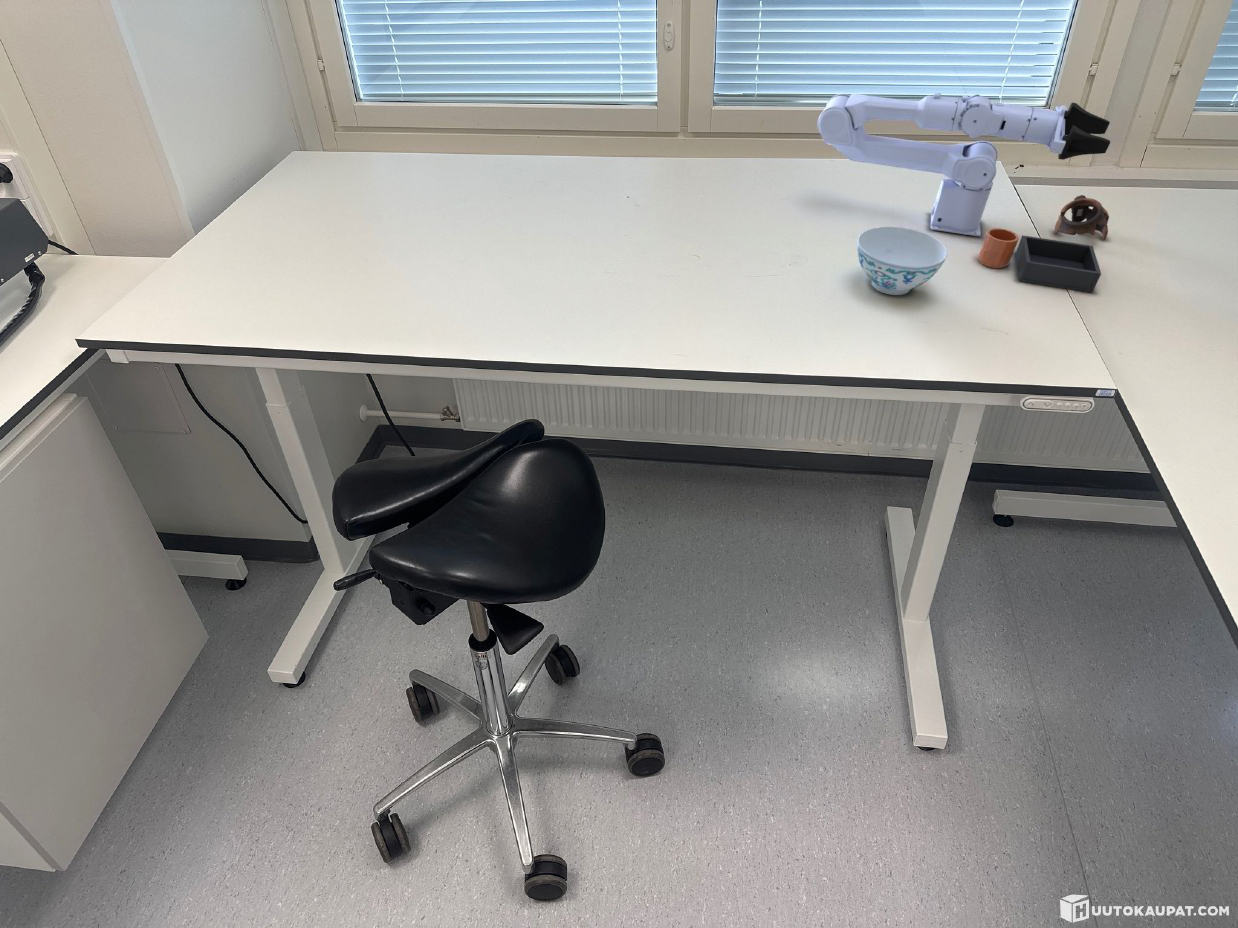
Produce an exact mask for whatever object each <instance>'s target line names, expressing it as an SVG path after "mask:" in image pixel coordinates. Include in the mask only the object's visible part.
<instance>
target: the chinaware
mask: <svg viewBox="0 0 1238 928" xmlns="http://www.w3.org/2000/svg"><path fill="white" fill-rule="evenodd" d="M856 244H857V245H856V247H857V258H858V262H859V265H860V267H861V269H862V272H863V273H864V274H865V275H866V277H867V278H868V279H869V280H870V281H871V285H872V287H873V288H874V289H875V290H876V291H879V293H883V294H886V295H891V296H902V295H906V294H908V293H909V292H910V291H911V290H912V289H915V288H918V287H920V286H921V285H923V284H925V283H927V282H928V281H930V280H931V279H932V278H933V277H934V276H935V275H936V274H937V273H938V272H939V270H940V269H941V268H942V266H943V265H944V263H945V261H946V259H947V257H948V249H947V246H945V245H944V243H943V242H941V241H940V240H939V239H937V238H936V237H934V236H932V235H930V234H928V233H925V232H923V231H920V230H917V229H912V228H909V227H901V226H877V227H872V228H868V229H867V230H864V231H862V232H861V233H860V234H859V236H858V238H857V243H856Z"/></svg>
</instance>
